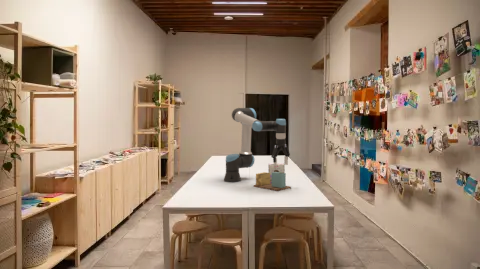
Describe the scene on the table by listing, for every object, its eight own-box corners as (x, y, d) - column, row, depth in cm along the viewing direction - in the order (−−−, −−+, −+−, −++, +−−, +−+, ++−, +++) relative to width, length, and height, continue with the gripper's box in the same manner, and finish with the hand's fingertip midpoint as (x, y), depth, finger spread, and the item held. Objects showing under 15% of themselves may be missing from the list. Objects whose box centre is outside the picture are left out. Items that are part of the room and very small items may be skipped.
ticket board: (253, 186, 294) (253, 173, 293) (266, 183, 305) (266, 171, 304) (278, 191, 275) (278, 177, 275) (291, 188, 287) (291, 175, 286)
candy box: (284, 182, 312) (284, 163, 311) (284, 183, 306) (284, 164, 305) (268, 181, 313) (268, 163, 313) (268, 183, 308) (268, 164, 307)
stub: (271, 186, 287) (271, 172, 286) (275, 185, 290) (275, 171, 290) (281, 187, 280) (281, 173, 279) (285, 187, 283) (285, 172, 283)
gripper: (274, 139, 270) (274, 167, 271) (294, 138, 288) (294, 164, 289) (266, 139, 275) (266, 166, 277) (286, 137, 293) (286, 163, 294)
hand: (280, 165), depth 283 cm, fingers open, 13 cm apart
